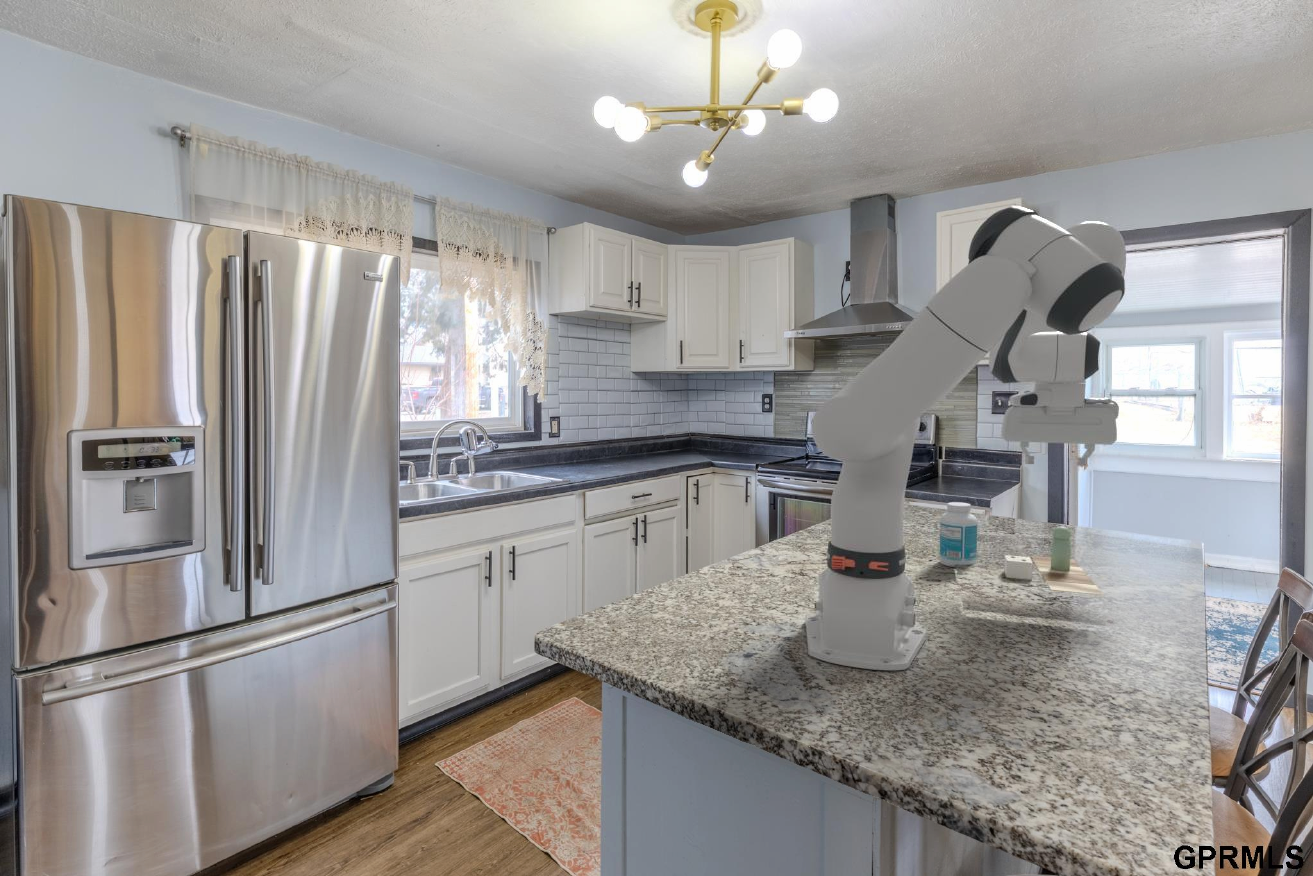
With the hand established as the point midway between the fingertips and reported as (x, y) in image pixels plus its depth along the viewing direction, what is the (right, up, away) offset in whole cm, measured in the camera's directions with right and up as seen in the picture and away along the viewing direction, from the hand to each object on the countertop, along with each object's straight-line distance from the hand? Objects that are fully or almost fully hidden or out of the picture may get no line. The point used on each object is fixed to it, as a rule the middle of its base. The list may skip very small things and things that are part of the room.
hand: (1055, 464), depth 136 cm
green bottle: (+2, -22, +2) cm, 22 cm away
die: (-9, -23, -2) cm, 25 cm away
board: (+1, -23, -1) cm, 23 cm away
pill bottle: (-16, -23, +9) cm, 29 cm away
